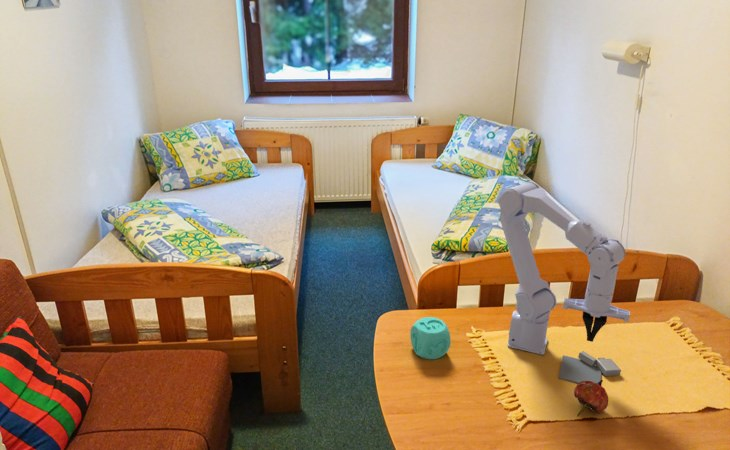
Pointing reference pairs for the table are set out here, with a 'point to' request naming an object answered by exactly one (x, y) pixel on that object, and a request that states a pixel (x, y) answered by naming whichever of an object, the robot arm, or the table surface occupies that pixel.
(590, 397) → the pomegranate
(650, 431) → the table surface
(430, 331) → the decorative dice
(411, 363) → the table surface
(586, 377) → the mat
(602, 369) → the lighter
